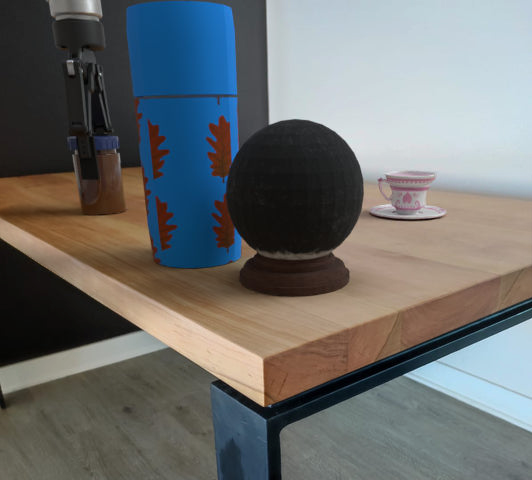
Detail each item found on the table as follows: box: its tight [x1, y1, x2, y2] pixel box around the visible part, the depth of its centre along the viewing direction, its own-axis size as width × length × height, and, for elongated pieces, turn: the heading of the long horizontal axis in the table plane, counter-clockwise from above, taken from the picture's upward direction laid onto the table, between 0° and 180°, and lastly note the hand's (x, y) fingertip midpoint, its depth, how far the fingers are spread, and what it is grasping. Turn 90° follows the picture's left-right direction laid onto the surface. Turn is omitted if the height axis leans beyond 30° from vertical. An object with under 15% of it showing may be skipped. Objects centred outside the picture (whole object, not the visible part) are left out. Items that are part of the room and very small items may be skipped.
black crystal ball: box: [226, 118, 365, 297], centre depth 52 cm, size 13×13×15 cm
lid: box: [66, 135, 120, 151], centre depth 90 cm, size 8×8×2 cm
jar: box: [72, 149, 127, 216], centre depth 92 cm, size 8×8×11 cm
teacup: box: [369, 170, 447, 220], centre depth 86 cm, size 12×12×6 cm
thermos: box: [125, 0, 243, 269], centre depth 59 cm, size 11×11×25 cm
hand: (98, 176), depth 92 cm, fingers closed on lid, 8 cm apart
